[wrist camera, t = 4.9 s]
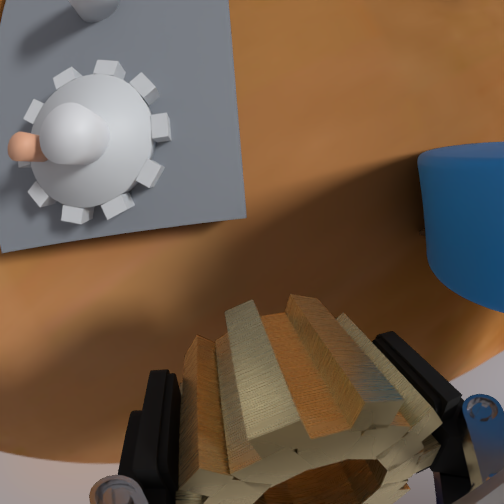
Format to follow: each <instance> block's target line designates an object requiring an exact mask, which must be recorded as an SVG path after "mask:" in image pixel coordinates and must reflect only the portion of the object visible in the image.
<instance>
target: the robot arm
mask: <svg viewBox="0 0 504 504" xmlns="http://www.w3.org/2000/svg"><path fill="white" fill-rule="evenodd" d="M372 343H373V344H374V345H375V346H376V347H377V348H378V349H379V350H380V351H381V352H382V354H383V355H384V356H385V357H386V358H387V359H388V360H389V361H390V362H391V363H392V364H393V365H394V366H395V367H396V369H397V370H398V371H399V372H400V373H401V374H402V375H403V376H404V377H405V378H406V379H407V380H408V382H409V383H410V384H411V385H412V386H413V387H414V388H415V389H416V390H417V391H418V392H419V393H420V395H421V396H422V397H423V398H424V399H425V400H426V401H427V402H428V403H429V404H430V406H431V407H432V408H433V409H434V410H435V412H436V413H437V415H438V416H439V418H440V420H441V421H442V424H441V425H440V426H439V427H438V428H437V429H436V430H435V431H433V432H432V433H431V434H432V435H433V437H434V438H435V439H436V440H437V442H438V443H439V444H440V445H441V447H440V449H439V451H438V453H437V455H436V457H435V459H434V460H433V462H432V464H431V465H430V466H428V467H426V468H424V469H422V470H420V471H418V472H416V473H419V472H421V471H423V470H425V469H427V468H430V469H431V470H432V471H433V476H434V485H435V493H436V504H504V411H503V409H502V407H501V405H500V404H499V402H498V401H497V400H496V399H494V398H493V397H491V396H489V395H484V394H476V395H472V396H470V397H468V398H467V399H466V400H465V401H464V400H463V399H462V398H461V396H462V394H461V393H460V392H459V391H457V390H456V389H455V388H454V387H453V386H452V385H451V384H450V383H449V382H448V381H447V380H446V379H445V378H444V377H443V376H442V375H441V374H439V373H438V372H437V371H436V370H435V369H434V368H433V367H432V366H431V365H430V364H429V363H428V362H427V361H425V360H424V359H423V358H422V357H421V356H420V355H419V354H418V353H417V352H416V351H415V350H413V349H412V348H411V347H410V346H409V345H408V344H407V343H406V342H405V341H404V340H402V339H401V338H400V337H399V336H398V335H397V334H396V333H395V332H393V331H390V332H386V333H383V334H379V335H377V336H376V339H375V340H373V341H372ZM180 409H181V392H180V389H179V385H178V381H177V377H176V374H175V373H172V374H170V373H169V370H168V369H167V370H153V371H150V375H149V380H148V384H147V389H146V394H145V399H144V404H143V409H142V410H141V411H132V412H131V414H130V417H129V422H128V426H127V431H126V435H125V440H124V445H123V450H122V455H121V460H120V465H119V470H118V475H112V476H107V477H105V478H102V479H100V480H99V481H98V482H96V483H95V485H94V486H93V487H92V488H91V491H90V495H89V498H90V504H176V492H178V476H179V433H180Z"/></svg>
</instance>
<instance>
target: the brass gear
mask: <svg viewBox="0 0 504 504" xmlns="http://www.w3.org/2000/svg"><path fill="white" fill-rule="evenodd" d="M225 317H226V323H227V329H228V332H227V333H226V334H224V335H223V336H221V337H220V338H218V339H217V340H215V342H213V341H211V340H208V339H206V338H204V337H202V336H200V335H197V336H196V337H195V339H194V341H193V342H192V344H191V346H190V347H189V349H188V351H187V352H186V354H185V356H184V369H183V383H180V392H181V409H180V433H179V476H178V492H176V504H393V503H394V502H396V501H397V500H398V499H399V498H400V497H402V496H403V495H404V494H405V493H406V492H408V491H409V490H410V488H409V486H408V484H407V482H408V478H410V477H412V475H413V474H414V473H416V472H418V471H420V470H422V469H424V468H426V467H428V466H430V465H431V464H432V462H433V460H434V459H435V457H436V455H437V453H438V451H439V449H440V447H441V445H440V444H439V443H438V442H437V440H436V439H435V438H434V437H433V435H432V434H431V433H432V432H433V431H435V430H436V429H437V428H438V427H439V426H440V425H441V424H442V421H441V420H440V418H439V416H438V415H437V413H436V412H435V410H434V409H433V408H432V407H431V406H430V404H429V403H428V402H427V401H426V400H425V399H424V398H423V397H422V396H421V395H420V393H419V392H418V391H417V390H416V389H415V388H414V387H413V386H412V385H411V384H410V383H409V382H408V380H407V379H406V378H405V377H404V376H403V375H402V374H401V373H400V372H399V371H398V370H397V369H396V367H395V366H394V365H393V364H392V363H391V362H390V361H389V360H388V359H387V358H386V357H385V356H384V355H383V354H382V352H381V351H380V350H379V349H378V348H377V347H376V346H375V345H374V344H373V343H372V342H371V341H370V340H369V339H368V338H367V337H366V335H365V334H364V333H363V332H362V331H361V330H360V329H359V328H358V327H357V326H356V325H355V324H354V323H353V322H352V321H351V320H350V319H349V318H348V317H347V315H346V314H345V313H344V312H343V313H342V314H341V315H340V316H339V317H337V318H336V319H335V318H334V317H333V316H332V314H331V313H330V312H329V311H328V310H327V309H326V308H325V306H324V305H323V304H322V303H321V302H320V301H319V300H318V298H313V297H307V296H301V295H294V294H290V296H289V299H288V303H287V306H286V309H285V312H283V313H277V314H270V315H263V316H260V314H259V312H258V309H257V307H256V305H255V303H254V301H253V299H252V300H250V301H247V302H245V303H243V304H240V305H238V306H236V307H234V308H231V309H229V310H227V311H225Z"/></svg>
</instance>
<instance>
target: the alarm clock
mask: <svg viewBox="0 0 504 504" xmlns="http://www.w3.org/2000/svg"><path fill="white" fill-rule="evenodd" d="M417 164H418V171H419V178H420V185H421V193H422V201H423V210H424V221H425V230H420V231H419V235H422V236H426V249H427V259H428V263H429V266H430V268H431V270H432V271H433V273H434V274H435V276H436V277H437V278H438V279H439V280H440V281H441V282H442V283H443V284H444V285H445V286H446V287H448V288H449V289H450V290H452V291H453V292H455V293H457V294H458V295H460V296H462V297H463V298H466V299H468V300H470V301H472V302H474V303H476V304H479V305H481V306H484V307H486V308H489V309H492V310H495V311H499V312H502V313H504V142H488V143H475V144H464V145H456V146H448V147H442V148H437V149H432V150H429V151H425V152H423V153H422V154H420V155H419V157H418V160H417Z"/></svg>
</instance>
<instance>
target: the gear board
mask: <svg viewBox="0 0 504 504" xmlns="http://www.w3.org/2000/svg"><path fill="white" fill-rule="evenodd" d="M241 218H247V216H246V204H245V192H244V181H243V169H242V157H241V146H240V134H239V122H238V110H237V98H236V86H235V74H234V62H233V50H232V38H231V26H230V14H229V2H228V0H6V3H5V6H4V10H3V14H2V19H1V23H0V246H1V251H2V253H6V252H11V251H17V250H22V249H28V248H34V247H40V246H46V245H52V244H58V243H64V242H70V241H76V240H83V239H89V238H96V237H102V236H109V235H116V234H123V233H130V232H137V231H144V230H152V229H159V228H167V227H174V226H182V225H190V224H198V223H207V222H215V221H224V220H232V219H241Z"/></svg>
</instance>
